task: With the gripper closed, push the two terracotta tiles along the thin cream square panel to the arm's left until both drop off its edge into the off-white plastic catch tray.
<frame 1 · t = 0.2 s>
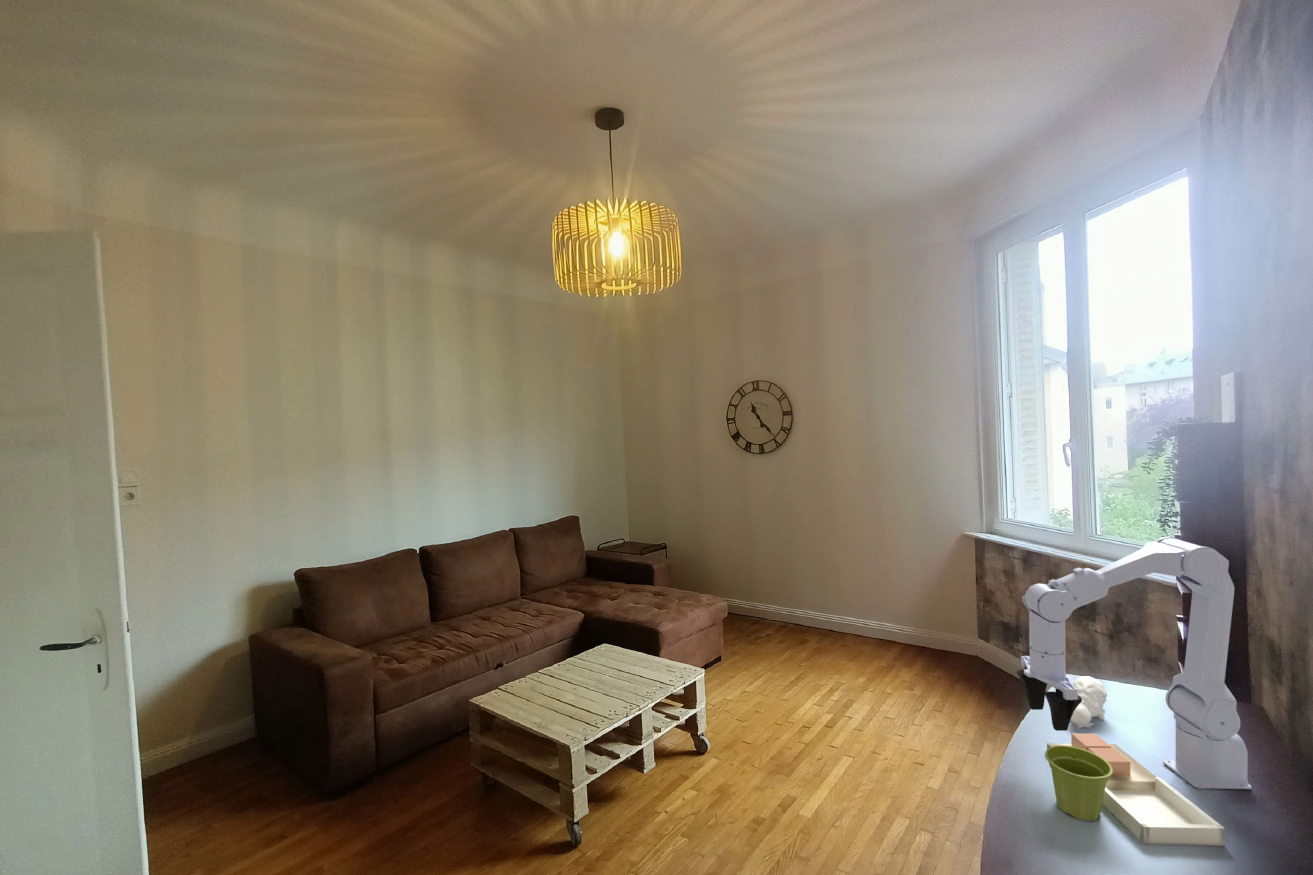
hand: (1047, 718, 112), 10 cm above the table, fingers open, 7 cm apart
plant pot: (1078, 810, 101), on the table
thin cream square panel: (1101, 771, 111), on the table
tile 2: (1108, 767, 109), point 2 cm above the table, touching thin cream square panel
white figurine: (1084, 721, 129), on the table
tile 1: (1090, 752, 114), point 2 cm above the table, touching thin cream square panel
tray: (1152, 816, 99), on the table
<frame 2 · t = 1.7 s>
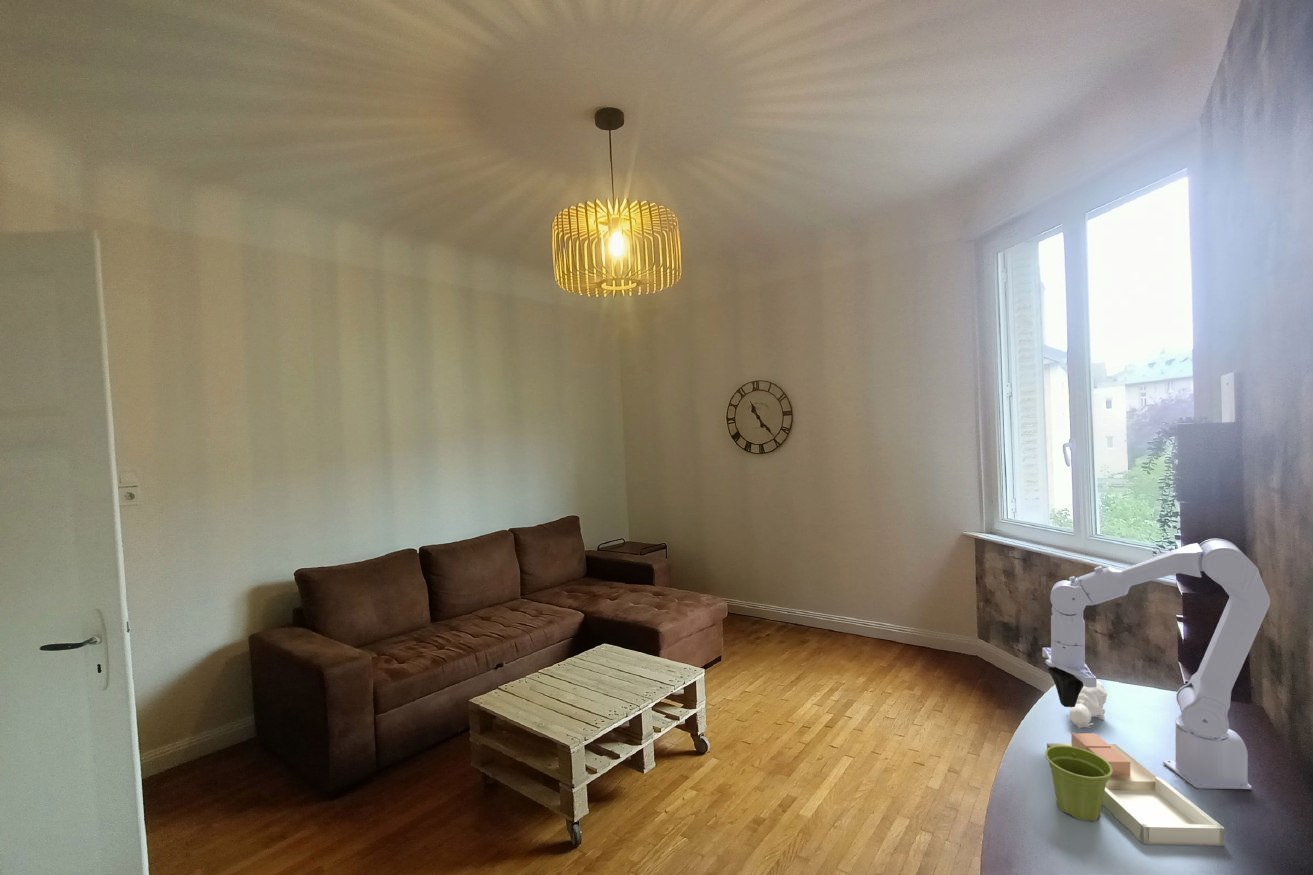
hand: (1067, 705, 121), 8 cm above the table, fingers closed
nothing on the table moved.
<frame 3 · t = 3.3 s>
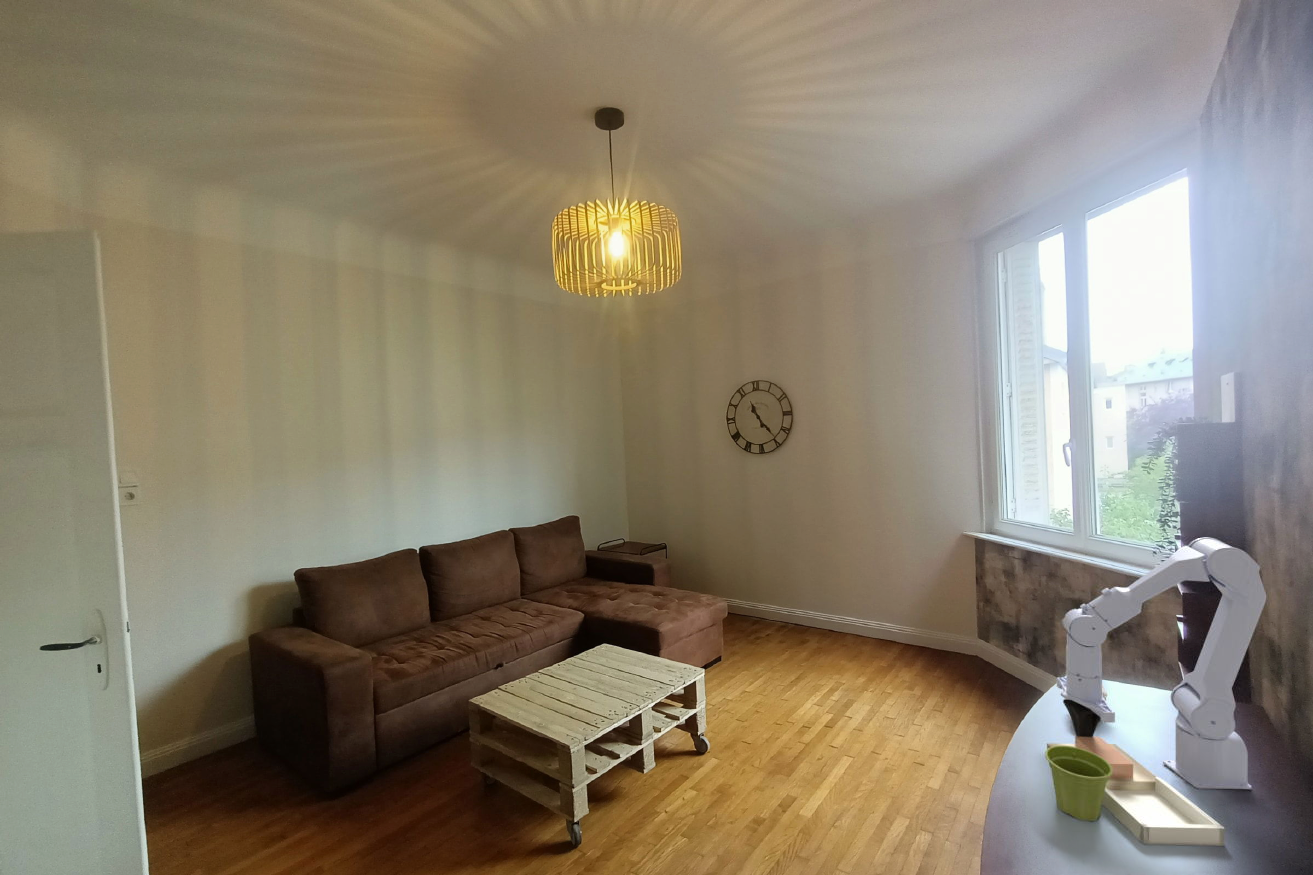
hand: (1084, 739, 116), 3 cm above the table, fingers closed
tile 2: (1111, 769, 108), point 2 cm above the table, touching thin cream square panel, tile 1
tile 1: (1094, 755, 113), point 2 cm above the table, touching gripper, thin cream square panel, tile 2
everything else where it was.
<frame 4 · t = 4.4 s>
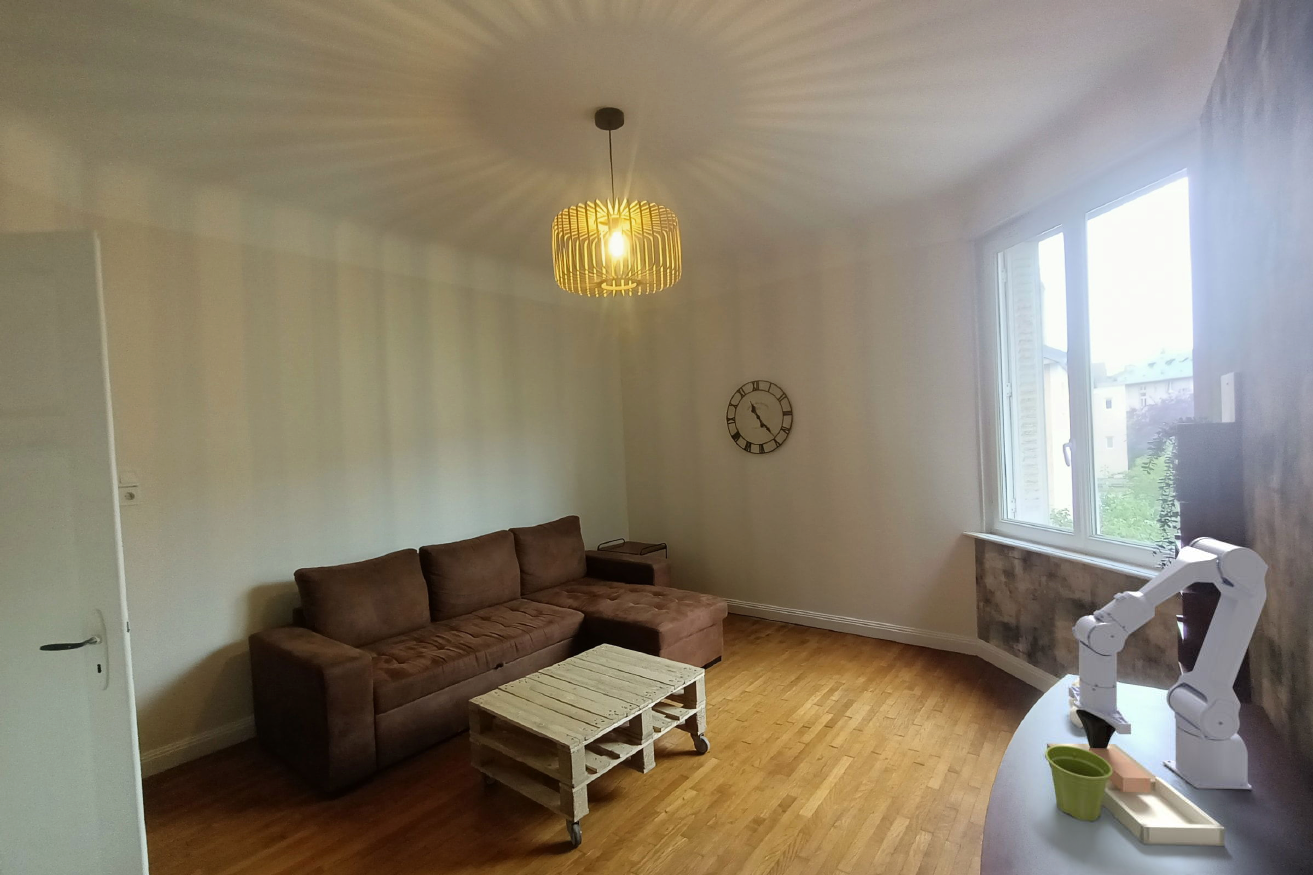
hand: (1097, 751, 112), 3 cm above the table, fingers closed
tile 2: (1127, 783, 104), point 2 cm above the table, touching thin cream square panel, tile 1
tile 1: (1109, 768, 109), point 2 cm above the table, touching gripper, thin cream square panel, tile 2
everything else where it was.
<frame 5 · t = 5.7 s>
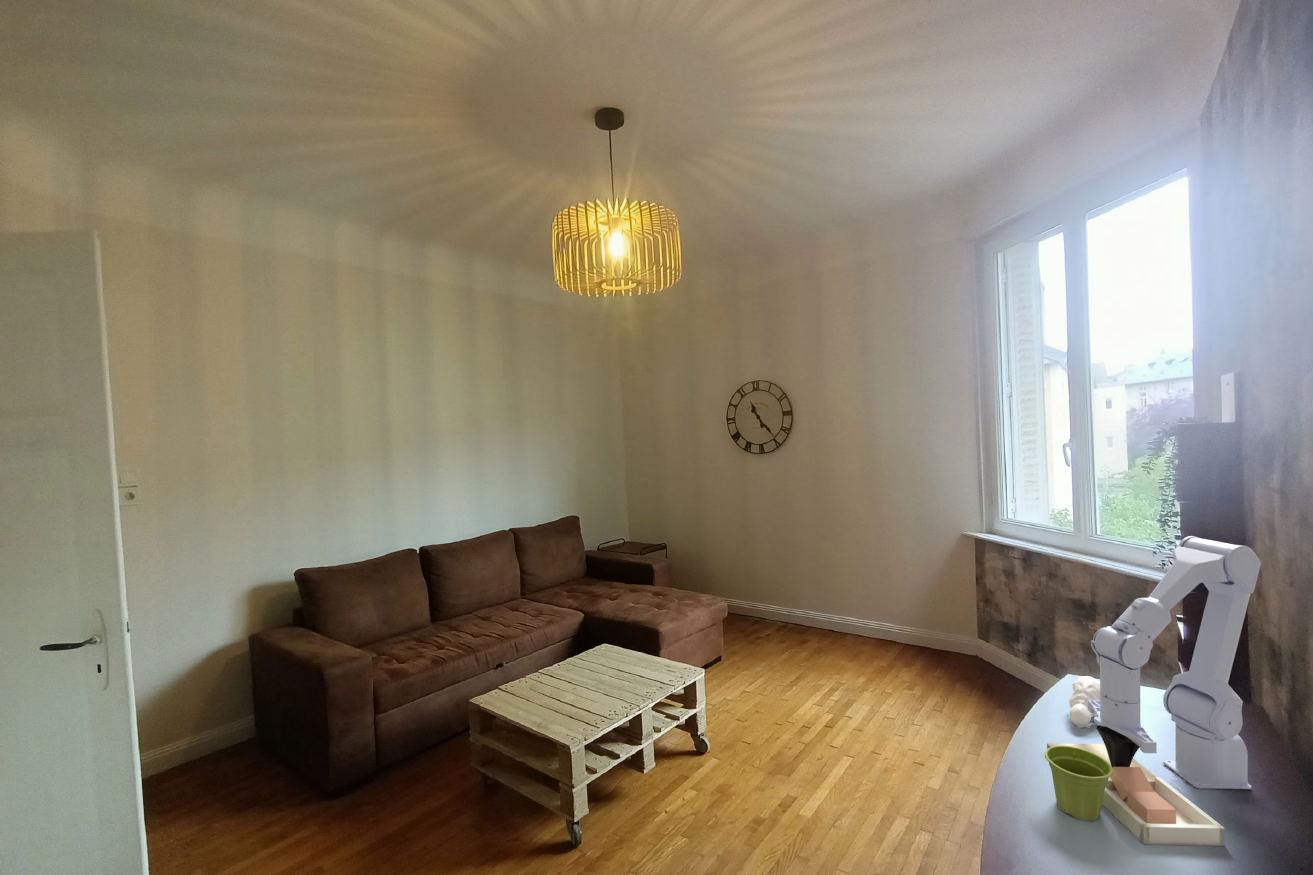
hand: (1119, 769, 106), 3 cm above the table, fingers closed
tile 2: (1151, 814, 99), resting on tray
tile 1: (1128, 786, 104), point 2 cm above the table, tilted 35°, touching gripper
everything else where it was.
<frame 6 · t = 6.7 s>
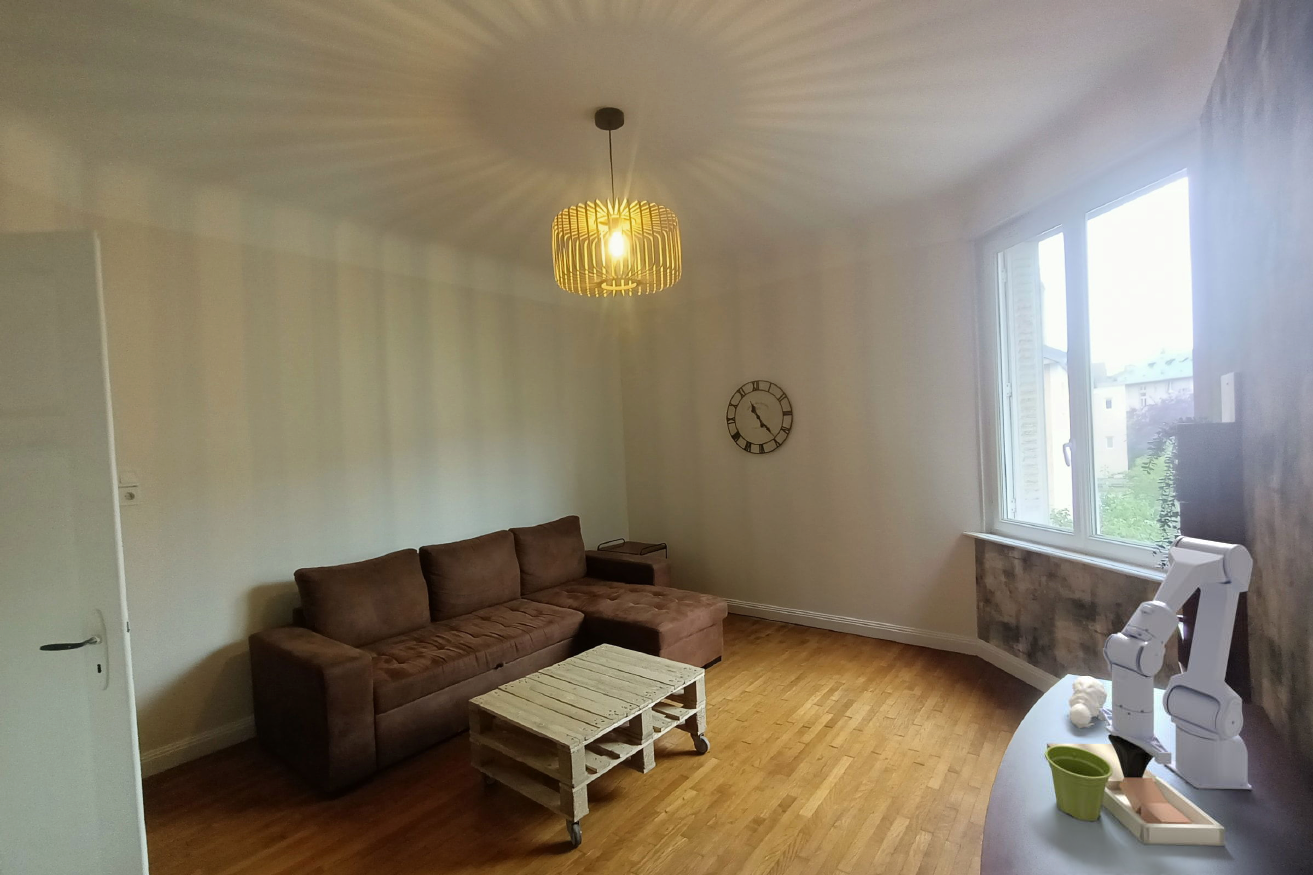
hand: (1132, 780, 103), 3 cm above the table, fingers closed
tile 2: (1165, 827, 96), resting on tray, touching tile 1
tile 1: (1140, 798, 101), point 1 cm above the table, tilted 29°, touching gripper, tile 2, tray
everything else where it was.
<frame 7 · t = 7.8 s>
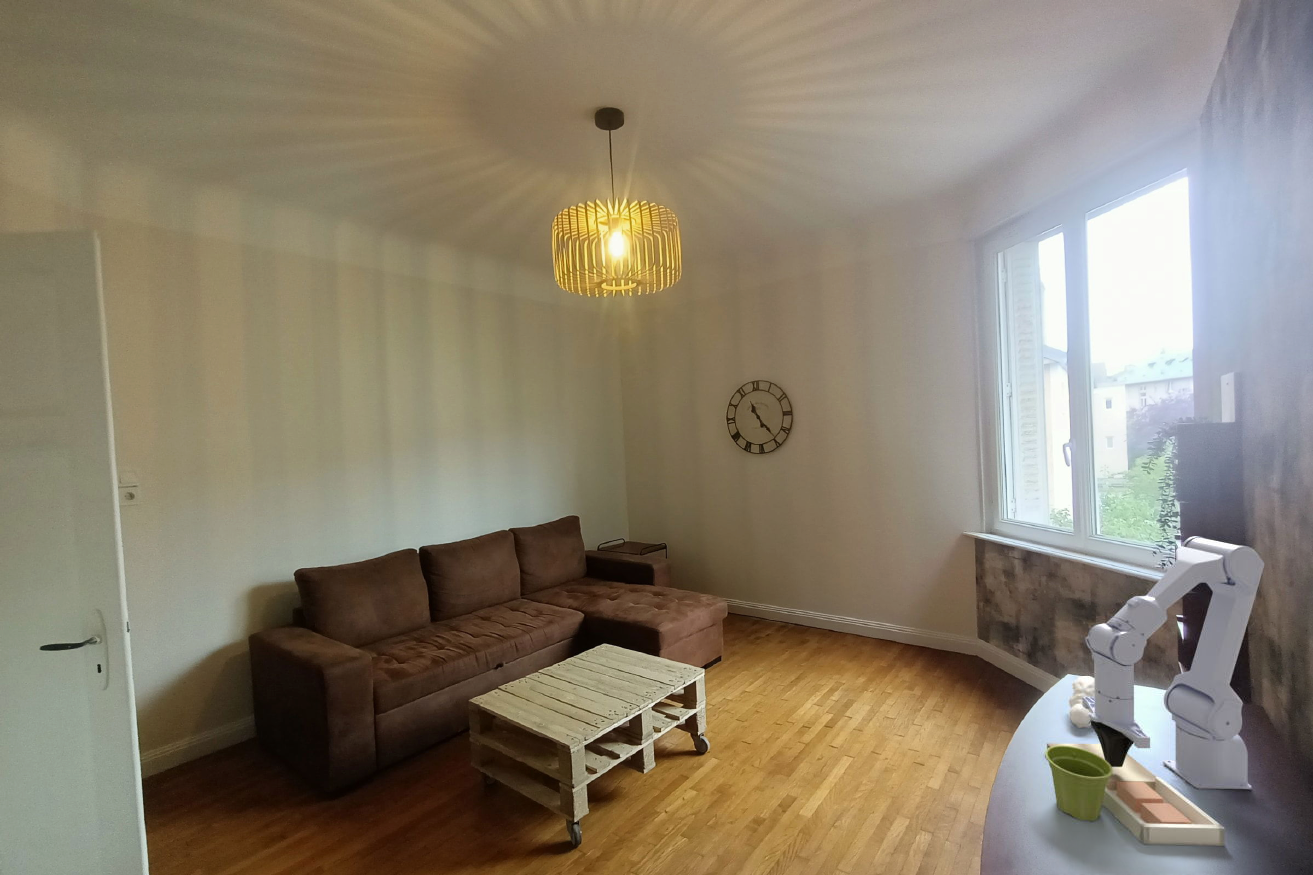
hand: (1114, 764, 108), 3 cm above the table, fingers closed
tile 2: (1165, 827, 96), resting on tray
tile 1: (1139, 803, 102), resting on tray
everything else where it was.
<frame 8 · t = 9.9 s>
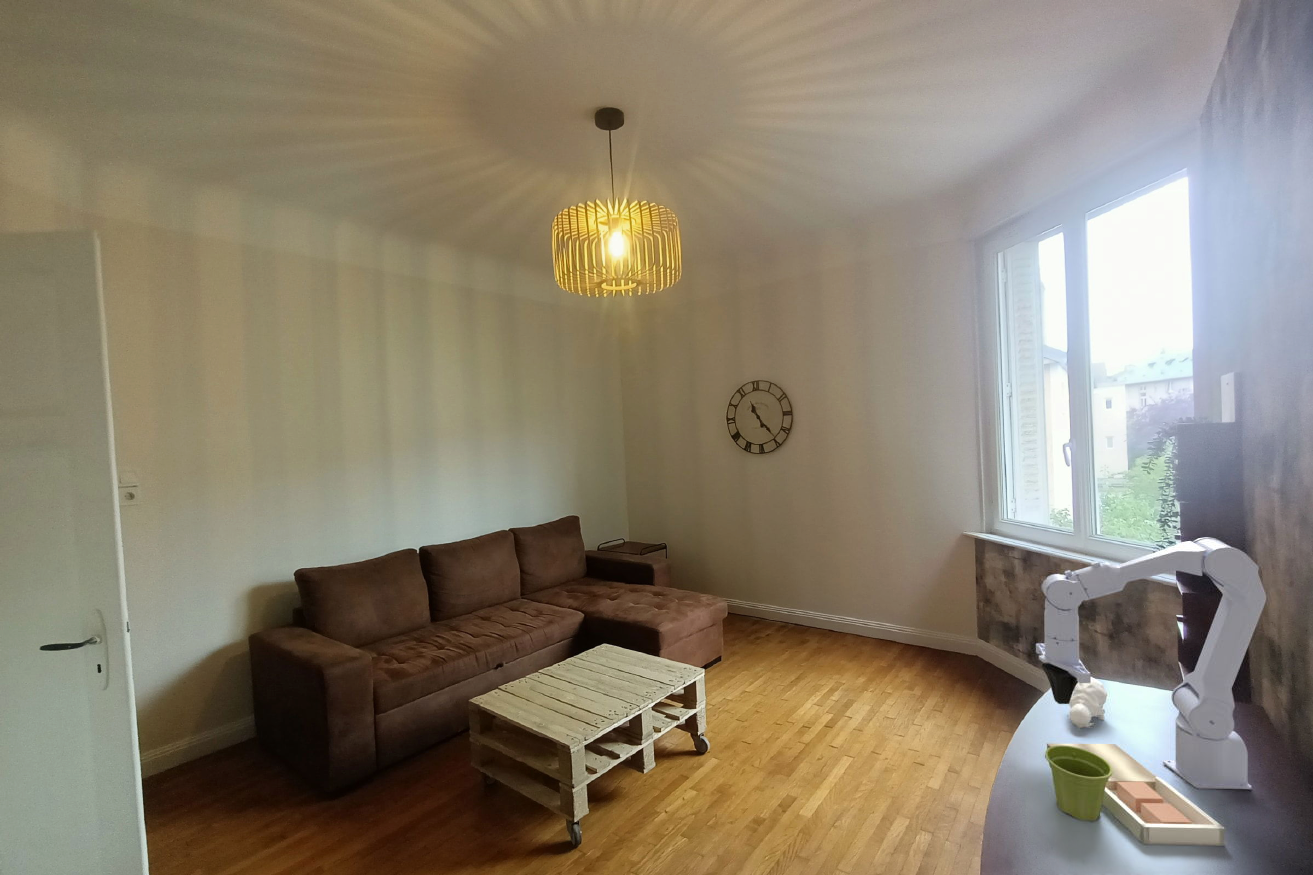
hand: (1061, 702, 118), 10 cm above the table, fingers closed
nothing on the table moved.
at the end: tile 1 inside the target area (2.6 cm from its centre), resting on tray; tile 2 inside the target area (3.2 cm from its centre), resting on tray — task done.
